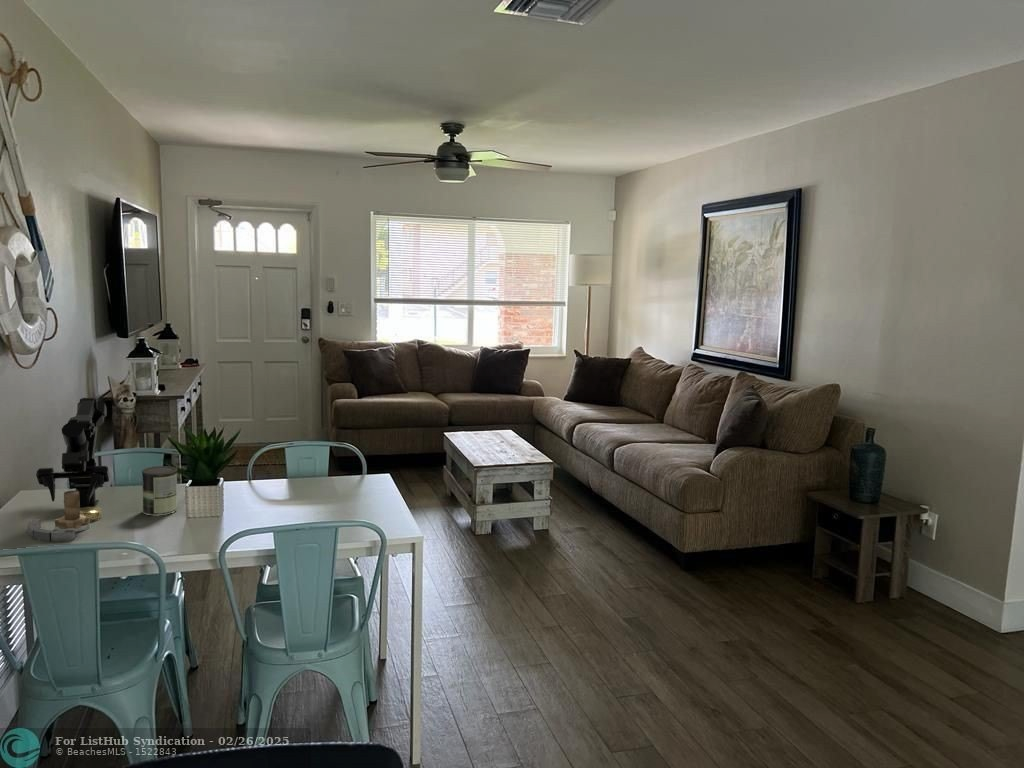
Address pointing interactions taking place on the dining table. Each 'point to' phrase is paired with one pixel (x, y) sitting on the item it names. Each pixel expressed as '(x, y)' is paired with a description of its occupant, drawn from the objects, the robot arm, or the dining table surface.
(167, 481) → the coffee can
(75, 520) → the gear
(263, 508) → the dining table surface
